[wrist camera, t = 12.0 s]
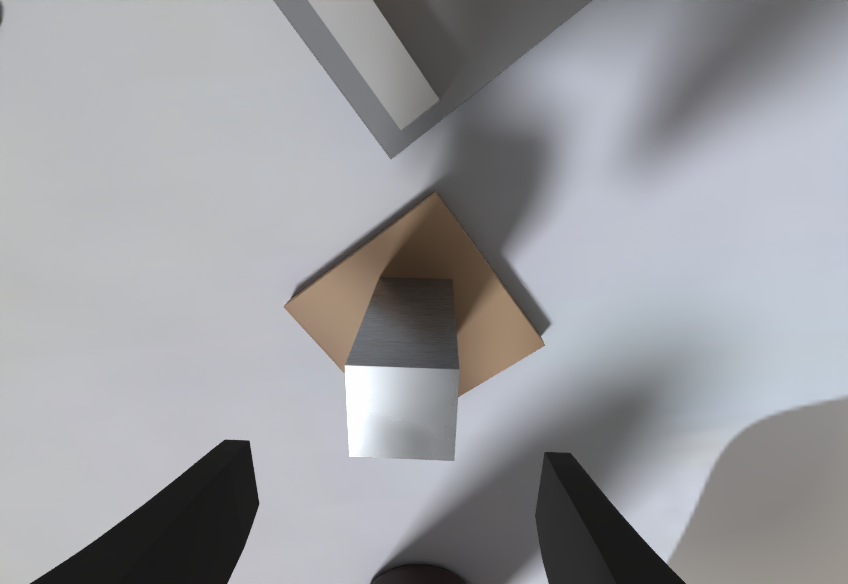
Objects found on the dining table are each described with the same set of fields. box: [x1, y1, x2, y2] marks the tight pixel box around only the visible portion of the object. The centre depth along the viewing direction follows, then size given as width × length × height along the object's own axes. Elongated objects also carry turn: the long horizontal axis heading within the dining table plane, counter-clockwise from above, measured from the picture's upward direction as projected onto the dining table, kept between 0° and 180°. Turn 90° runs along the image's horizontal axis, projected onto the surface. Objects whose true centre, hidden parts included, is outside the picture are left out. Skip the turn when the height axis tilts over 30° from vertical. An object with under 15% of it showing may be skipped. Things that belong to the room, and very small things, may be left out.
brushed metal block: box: [345, 277, 460, 461], centre depth 15 cm, size 3×3×7 cm
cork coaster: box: [284, 191, 545, 397], centre depth 19 cm, size 8×8×1 cm
